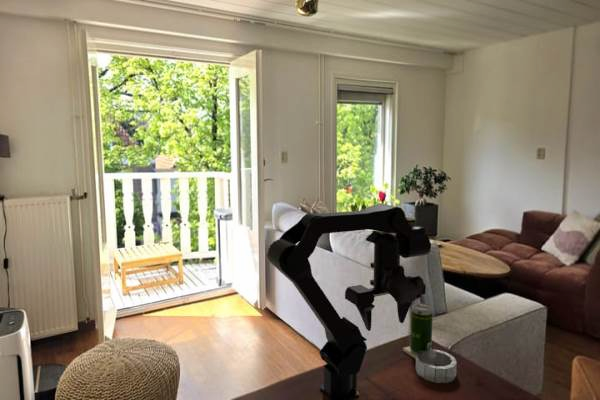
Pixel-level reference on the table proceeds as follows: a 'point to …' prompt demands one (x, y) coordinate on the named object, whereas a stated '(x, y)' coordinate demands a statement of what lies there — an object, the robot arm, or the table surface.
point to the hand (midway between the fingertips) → (385, 326)
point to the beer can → (421, 327)
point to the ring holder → (436, 373)
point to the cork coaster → (409, 352)
